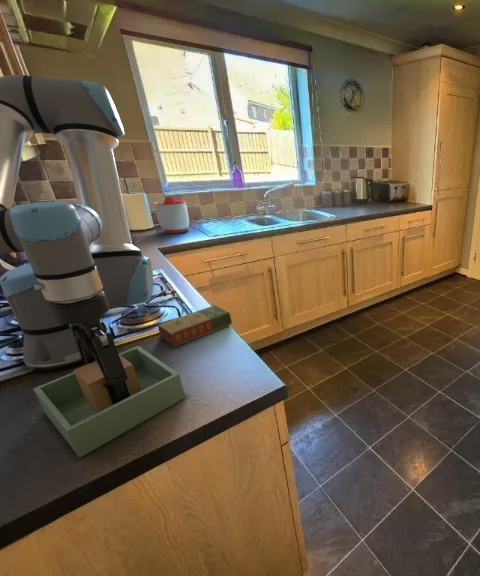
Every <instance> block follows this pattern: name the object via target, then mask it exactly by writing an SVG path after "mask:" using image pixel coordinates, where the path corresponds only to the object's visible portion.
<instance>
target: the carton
mask: <svg viewBox="0 0 480 576" xmlns="http://www.w3.org/2000/svg"><path fill="white" fill-rule="evenodd" d="M232 320H233V319H232V317H231V314H230V312H229V311H228V310H225V309H223V308H221V307H220V306H218V305H216V304H214V305H211V306H208V307H206V308H202V309H200V310H196V311H194V312H191V313H189V314H185V315H183V316H180V317H176V318H174V319H170V320H167V321H165V322H162V323H159V324H158V325H157V327H158V331H159V332H158V333H159V336H160V338H162V339H163V340H164V341H166V342H167V343H168V344H170V345H171V346H172V347H173V348H176V347H178V346H181V345H183V344H186V343H188V342H190V341H194V340H195V339H198V338H200V337H203V336H205V335H208V334H211V333H214V332H216V331H219V330H221V329H223V328H226V327H229V326H231V325H232V324H233V321H232Z"/></svg>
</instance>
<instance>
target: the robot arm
mask: <svg viewBox="0 0 480 576" xmlns="http://www.w3.org/2000/svg"><path fill="white" fill-rule="evenodd" d="M34 134H35V135H36V134H47V135H48V134H49V135H53V136H54V140H56V141H57V142H58V143H59V144H61V145H63V146H64V147H65V151H66V155H67V159H68V164H69V167H70V173H71V177H72V181H73V186H74V191H75V196H76V200H77V203H76V202H75V203H74V202H70V203H69V202H65V201H38V202H28V203H23V204H18V205H17V204H16V205H15V206H13V205H14V200H15V195H16V190H17V189H16V188H17V184H18V178H19V172H20V168H21V163H22V157H23V151H24V146H25V144H26V143H28V142H30V141H31V140H32V138H33V135H34ZM125 135H126V133H125V129H124V126H123V123H122V121H121V118H120V115H119V113H118V111H117V108H116V105H115V103H114V101H113V99H112V97H111V94H110V92H109V91H108V89H107V87H105V86H104V85H103V84H102V83H99V82H96V81H95V82H94V81H89V80H88V81H87V80H82V79H68V78H67V79H66V78H56V77H44V76H36V75H35V76H33V75H27V74H9V75H3V76H0V255H5V254H13V253H24V254H25V256H26V258H27V260H28V263H26V264H22V265H20V266H16V267H13V268H11V269H9V270H7V271H6V272H5V273H3V274H2V275H1V276H0V287H1V289H2V292H3V297H4V298H5V299H6V301H7V303H8V306H9V307H10V309H11V311H12V314H13V316H14V318H15V320H16V321H17V323H18V326H19V327H20V330H21V331H22V334H23V352H22V360H23V362H24V364H25V367H26V368H27V369H29V371H30V370H31V371H34V372H50V371H58V370H62V369H66V368H70V367H73V366H76V365H79V364H82V363H84V365H87V364H90V363H92V362H95V361H96V362H97V364H98V366H99V368H100V370H101V372H102V374H103V376H104V378H105V380H106V383H104V384H102V386H103V387H106V388H107V391H108V393H109V396H110V398H111V401H112V403H113V405H114V404H116V403H118V402H120V401H122V400H124V399H126V398H128V397H130V394H129V391H128V388H127V386H126V383H125V380H127V379H128V376H127V374H126V372H125V369H124V367H123V364H122V362H121V359H120V357H119V353H118V349H117V347H116V344H115V341H114V337H113V336H114V335H113V333H112V332H110V331H109V332H108V327H107V326H106V324H105V322H103V321H100V318H101V317H102V316H103V315H105V314H107V313H108V312H109V310H110V309H117V308H122V307H131V306H134V305H139V304H145V303H147V302H149V301H150V299H152V296H153V293H154V271H153V270H154V269H153V265H152V261H151V258H150V257H148V256H145V255H144V256H143V253H142V250H141V249H139V248H138V247H136V246H135V245H134V244H133V240H132V236H131V232H130V227H129V222H128V218H127V211H126V207H125V203H124V197H123V194H122V188H121V184H120V179H119V174H118V169H117V165H116V159H115V156H114V150H115V149H116V148H117V147H118V146H119V138H121V137H124V136H125ZM118 137H119V138H118Z"/></svg>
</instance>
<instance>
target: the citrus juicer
mask: <svg viewBox="0 0 480 576" xmlns="http://www.w3.org/2000/svg"><path fill="white" fill-rule="evenodd" d="M153 205H154V209H155V213H156V217H157V221H158V224H159V225H160V227H161V229H162V231H163V232H164V233H166V234H175V235H176V234H181V233H185V232H188V231H189V227H190V217H189V212H188V208H187V201H186V200H184V199H174V198H173V197H171V196H168V195H167V197H166V198H165V199H164V201H163V203H159V202H158V201H154V202H153Z"/></svg>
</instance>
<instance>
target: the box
mask: <svg viewBox="0 0 480 576" xmlns="http://www.w3.org/2000/svg"><path fill="white" fill-rule="evenodd" d="M119 357H120V359H121V362H122V364H123V367H124V369H125V372H126V374H127V376H128V379H127V380H125V383H126V386H127V388H128V391H129V394H130V396H132V395H134V394H136V393H138V392H140V391H141V388H140V385H139V382H138V379H137V376H136V373H135V370H134V367H133V365H132V364H131V363H130V362H128V361H127V360H126V359H124V358H123V357H122V356H120V355H119ZM72 371H73V372H74V373H75V376H76V378H77V380H78V383H79V385H80V387H81V390H82V392H83V394H84V397H85V399H86V401H87V403H88V404H89V405H90V406H91V407H92V408H93V409H94V410H95V411H96V412H97V413H99V412H101V411H103V410H104V409H106V408H108V407H110V406H112V405H113V403H112V401H111V398H110V396H109V393H108V391H107V388H106V387H103V386H102V384H104V383H106V380H105V378H104V376H103V374H102V372H101V370H100V368H99V366H98V364H97V362H96V361H95V362H92V363H90V364H87V365H86V364H84V365H82V366H80V367H78V368H75V369H73V370H72Z"/></svg>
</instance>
